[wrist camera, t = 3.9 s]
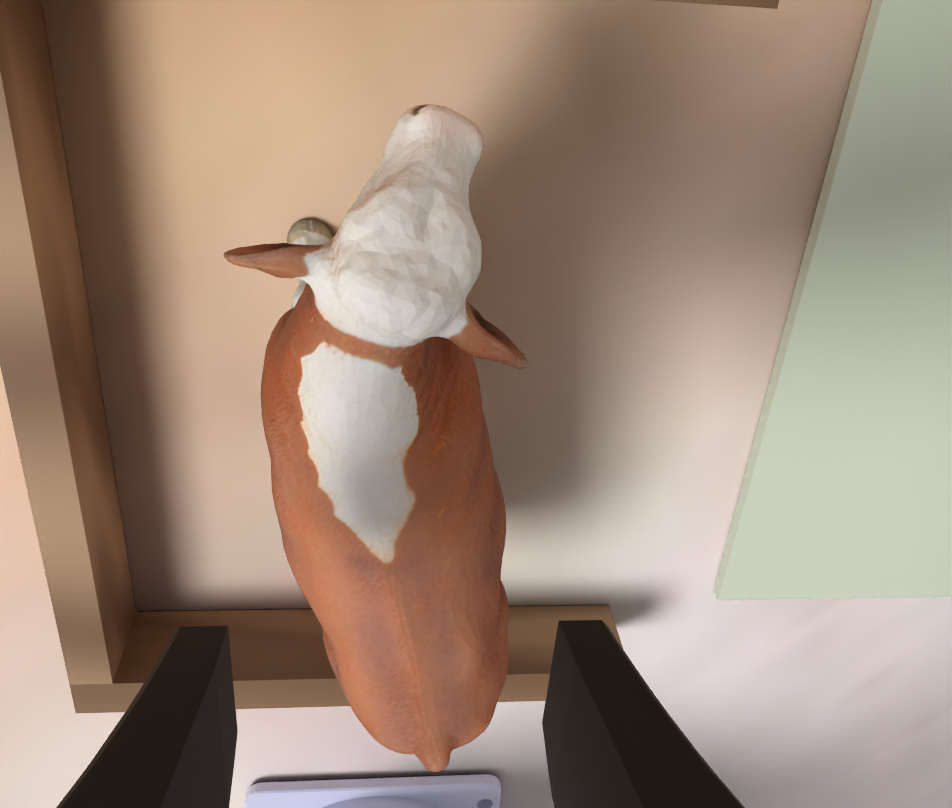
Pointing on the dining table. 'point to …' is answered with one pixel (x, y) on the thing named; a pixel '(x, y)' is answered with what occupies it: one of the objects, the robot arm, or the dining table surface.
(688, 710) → the dining table surface
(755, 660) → the dining table surface
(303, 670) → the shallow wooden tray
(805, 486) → the felt pad
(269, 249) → the bull figurine
